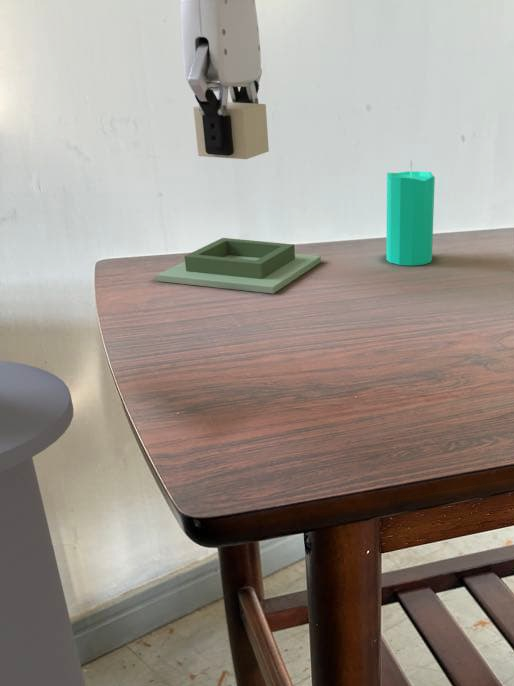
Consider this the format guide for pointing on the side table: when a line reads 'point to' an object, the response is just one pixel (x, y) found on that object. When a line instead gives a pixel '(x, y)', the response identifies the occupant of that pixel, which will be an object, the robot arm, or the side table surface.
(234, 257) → the base pad
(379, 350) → the side table surface
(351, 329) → the side table surface
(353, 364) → the side table surface
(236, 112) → the beige cube block
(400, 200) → the candle
